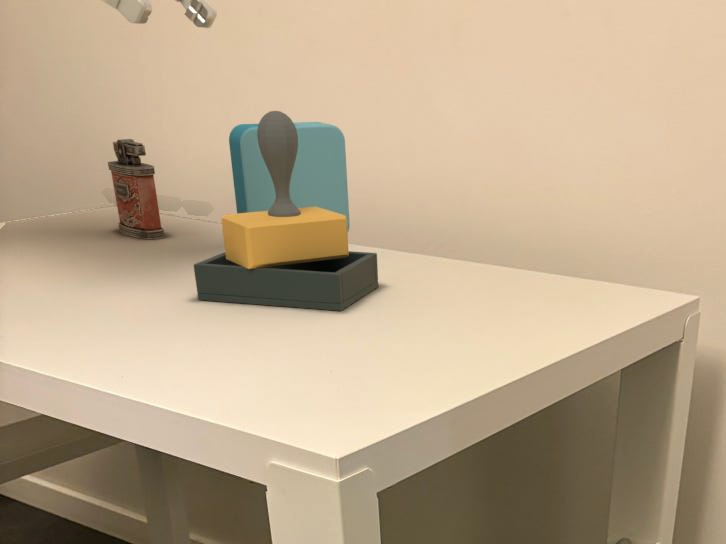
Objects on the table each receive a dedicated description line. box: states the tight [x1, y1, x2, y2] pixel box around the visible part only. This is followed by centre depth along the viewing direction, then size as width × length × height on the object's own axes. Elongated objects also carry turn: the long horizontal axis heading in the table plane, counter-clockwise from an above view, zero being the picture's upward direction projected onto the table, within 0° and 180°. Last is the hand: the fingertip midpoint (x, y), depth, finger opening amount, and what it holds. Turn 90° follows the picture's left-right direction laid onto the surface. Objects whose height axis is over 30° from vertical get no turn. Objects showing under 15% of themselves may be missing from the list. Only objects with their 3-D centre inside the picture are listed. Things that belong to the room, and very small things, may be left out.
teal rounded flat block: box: [228, 121, 351, 234], centre depth 111 cm, size 12×4×12 cm, turn 119°
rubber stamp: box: [220, 110, 349, 269], centre depth 87 cm, size 10×6×12 cm, turn 125°
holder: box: [193, 250, 379, 312], centre depth 91 cm, size 10×14×3 cm
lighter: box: [107, 138, 166, 240], centre depth 114 cm, size 8×3×10 cm, turn 43°
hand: (178, 18), depth 81 cm, fingers open, 8 cm apart
